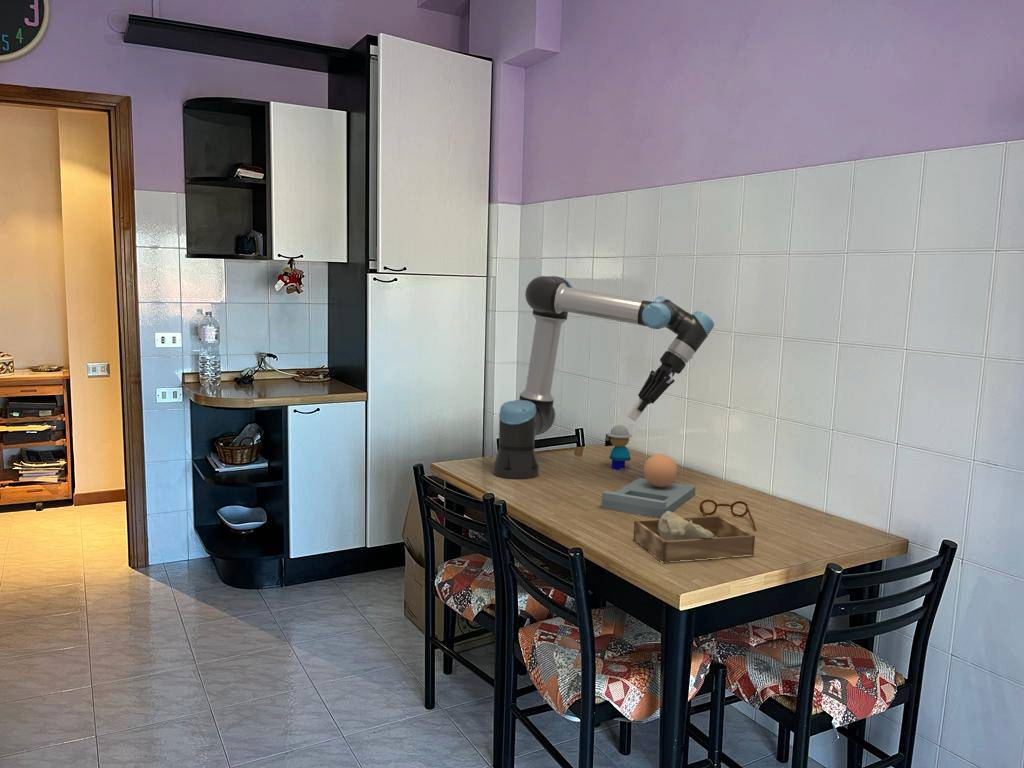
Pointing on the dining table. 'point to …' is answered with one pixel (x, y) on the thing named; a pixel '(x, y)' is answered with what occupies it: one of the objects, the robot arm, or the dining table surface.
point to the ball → (660, 470)
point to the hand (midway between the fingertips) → (631, 418)
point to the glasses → (728, 506)
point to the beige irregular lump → (680, 528)
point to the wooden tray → (696, 540)
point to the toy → (618, 446)
